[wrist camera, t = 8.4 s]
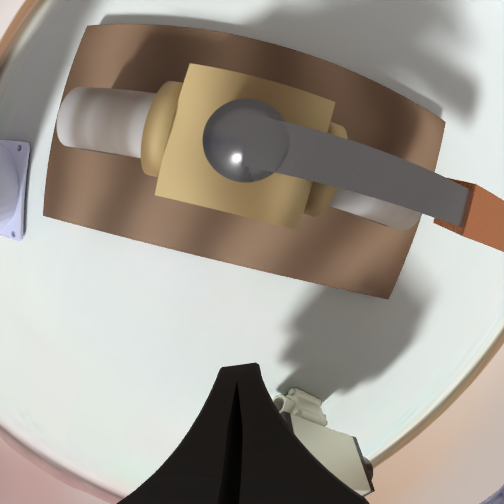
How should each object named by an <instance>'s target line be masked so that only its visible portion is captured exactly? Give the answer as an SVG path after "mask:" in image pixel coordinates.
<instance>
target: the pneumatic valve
mask: <svg viewBox="0 0 504 504" xmlns="http://www.w3.org/2000/svg"><path fill="white" fill-rule="evenodd" d="M272 401H273V402H274V404H275V406H276V408H277V409H278V411H279V413H280V414H281V416H282V417H283V419H284V420H285V422H286V423H287V425H288V426H289V427H290V429H291V430H292V431H293V433H294V434H295V435H296V436H297V438H298V439H299V440H300V441H301V442H302V444H303V445H304V446H305V447H306V448H307V449H308V450H309V452H310V453H311V454H312V455H313V456H314V457H315V458H316V459H317V460H318V461H319V462H321V463H322V464H323V465H324V466H325V467H326V468H327V469H328V470H329V471H330V472H331V473H332V474H334V475H335V476H336V477H337V478H338V479H340V480H341V481H342V482H343V483H345V484H346V485H347V486H349V487H350V488H351V489H353V490H354V491H356V492H357V493H358V494H360V495H361V496H363V497H365V496H366V495H368V494H370V493H372V492H374V491H375V490H374V487H373V484H372V481H371V480H372V477H373V467H372V464H371V463H370V461H369V460H368V459H367V458H365V457H363V456H362V453H361V450H360V447H359V445H358V442H357V439H356V437H353V436H350V435H347V434H344V433H341V432H338V431H335V430H332V429H329V428H326V427H325V426H326V425H327V420H326V415H325V414H323V412H322V409H321V407H320V406H321V405H322V403H321V400H320V399H318V398H316V397H314V396H312V395H310V394H308V393H306V392H304V391H302V390H299V389H297V388H293V389H292V388H291V389H290V390H289V392H288V395H286V396H284V395H282V394H281V395H278V396H276V397H275V398H274V399H273V400H272Z"/></svg>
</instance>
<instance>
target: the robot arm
mask: <svg viewBox="0 0 504 504" xmlns="http://www.w3.org/2000/svg"><path fill="white" fill-rule="evenodd" d="M20 147H21V150H20ZM29 152H30V144H29V143H28V142H22V141H11V140H0V235H2V236H5V237H7V238H10V239H13V240H16V241H20V240H22V239H23V221H24V198H25V185H26V175H27V167H28V159H29ZM14 232H15V234H14ZM117 504H369V502H368V501H367V500H366V499H365V498H364V497H363V496H361V495H360V494H358V493H357V492H356V491H354V490H353V489H351V488H350V487H349V486H347V485H346V484H345V483H343V482H342V481H341V480H340V479H338V478H337V477H336V476H335V475H334V474H332V473H331V472H330V471H329V470H328V469H327V468H326V467H325V466H324V465H323V464H322V463H321V462H319V461H318V460H317V459H316V458H315V457H314V456H313V455H312V454H311V453H310V452H309V450H308V449H307V448H306V447H305V446H304V445H303V444H302V442H301V441H300V440H299V439H298V438H297V436H296V435H295V434H294V433H293V431H292V430H291V429H290V427H289V426H288V425H287V423H286V422H285V420H284V419H283V417H282V416H281V414H280V413H279V411H278V409H277V408H276V406H275V404H274V402H273V401H272V399H271V397H270V395H269V393H268V391H267V389H266V387H265V384H264V382H263V379H262V376H261V371H260V366H259V364H257V363H250V364H243V365H235V366H228V367H222V368H221V369H220V370H219V373H218V375H217V378H216V380H215V383H214V385H213V387H212V390H211V392H210V394H209V396H208V398H207V400H206V402H205V404H204V406H203V408H202V410H201V412H200V413H199V415H198V417H197V418H196V420H195V422H194V423H193V425H192V427H191V428H190V430H189V431H188V433H187V434H186V436H185V437H184V439H183V440H182V442H181V443H180V444H179V446H178V447H177V448H176V449H175V451H174V452H173V453H172V454H171V455H170V457H169V458H168V459H167V460H166V461H165V462H164V463H163V465H162V466H161V467H160V468H159V469H158V470H157V471H156V472H155V473H154V474H153V475H152V476H151V477H150V478H148V479H147V480H146V481H145V482H144V483H143V484H142V485H141V486H139V487H138V488H137V489H136V490H135V491H133V492H132V493H131V494H130V495H128V496H127V497H125V498H124V499H122V500H121V501H120V502H118V503H117ZM480 504H504V485H503V486H502V487H501V489H499V490H498V491H497V492H496V493H494V494H493V495H491V496H490V497H488V498H487V499H486V500H484V501H483V502H481V503H480Z"/></svg>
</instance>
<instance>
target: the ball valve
mask: <svg viewBox="0 0 504 504" xmlns="http://www.w3.org/2000/svg"><path fill="white" fill-rule="evenodd" d="M243 98H249V99H256V100H260V101H263V102H265V103H267V104H269V105H271V106H272V107H273V108H275V109H276V110H277V111H278V112H279V113H280V114H281V116H282V117H283V118H284V120H285V122H288V123H292V124H296V125H300V126H304V127H308V128H311V129H315V130H319V131H322V132H326V133H329V134H332V135H336V136H339V137H342V138H345V139H349V140H352V141H355V142H358V143H361V144H364V145H367V146H370V147H372V148H375V149H378V150H381V151H383V152H386V153H389V154H391V155H394V156H397V157H399V158H402V159H404V160H407V161H409V162H411V163H414V164H416V165H419V166H421V167H423V168H426V169H428V170H430V171H432V172H434V171H435V168H436V164H437V160H438V155H439V151H440V147H441V142H442V137H443V133H444V128H445V121H443V120H442V119H440V118H439V117H437V116H436V115H434V114H433V113H431V112H429V111H428V110H426V109H424V108H423V107H421V106H419V105H418V104H416V103H414V102H413V101H411V100H409V99H407V98H406V97H404V96H402V95H400V94H398V93H396V92H394V91H392V90H391V89H389V88H387V87H385V86H383V85H381V84H379V83H377V82H374V81H372V80H370V79H368V78H366V77H364V76H362V75H359V74H357V73H355V72H352V71H350V70H348V69H345V68H343V67H340V66H338V65H335V64H333V63H330V62H328V61H325V60H322V59H319V58H317V57H314V56H311V55H308V54H305V53H302V52H299V51H296V50H292V49H289V48H286V47H282V46H279V45H275V44H272V43H268V42H264V41H260V40H256V39H251V38H247V37H242V36H238V35H233V34H227V33H222V32H216V31H210V30H203V29H195V28H187V27H177V26H165V25H147V24H108V25H90V26H87V28H86V30H85V33H84V35H83V37H82V40H81V42H80V45H79V47H78V50H77V53H76V55H75V58H74V61H73V64H72V67H71V70H70V73H69V76H68V79H67V82H66V85H65V89H64V92H63V96H62V100H61V103H60V107H59V111H58V115H57V120H56V124H55V129H54V133H53V139H52V144H51V150H50V156H49V162H48V169H47V177H46V186H45V196H44V209H43V216H46V217H50V218H54V219H57V220H61V221H65V222H69V223H72V224H76V225H80V226H84V227H87V228H91V229H95V230H99V231H103V232H106V233H110V234H114V235H118V236H122V237H126V238H130V239H133V240H137V241H141V242H145V243H149V244H153V245H157V246H161V247H165V248H169V249H173V250H177V251H181V252H185V253H189V254H193V255H197V256H202V257H206V258H210V259H214V260H218V261H222V262H226V263H230V264H235V265H239V266H243V267H247V268H251V269H256V270H260V271H264V272H268V273H273V274H277V275H281V276H286V277H290V278H294V279H299V280H303V281H308V282H312V283H316V284H321V285H325V286H330V287H334V288H339V289H343V290H348V291H352V292H357V293H361V294H366V295H370V296H375V297H380V298H384V299H389V297H390V295H391V293H392V290H393V288H394V286H395V284H396V281H397V279H398V277H399V274H400V272H401V269H402V267H403V264H404V262H405V259H406V257H407V254H408V252H409V249H410V247H411V244H412V241H413V238H414V236H415V233H416V230H417V227H418V224H419V221H420V218H421V215H422V213H420V212H417V211H414V210H411V209H408V208H405V207H402V206H399V205H396V204H393V203H389V202H386V201H383V200H380V199H376V198H373V197H370V196H366V195H363V194H359V193H356V192H352V191H348V190H345V189H341V188H337V187H334V186H330V185H326V184H322V183H318V182H314V181H310V180H306V179H301V178H297V177H293V176H289V175H284V174H280V173H273V174H272V175H270V176H269V177H267V178H265V179H262V180H260V181H256V182H245V183H243V182H237V181H233V180H230V179H227V178H225V177H224V176H222V175H220V174H219V173H218V172H217V171H216V170H215V169H213V167H212V166H211V165H210V163H209V162H208V160H207V158H206V156H205V153H204V150H203V132H204V128H205V125H206V123H207V121H208V119H209V118H210V116H211V115H212V114H213V113H214V112H215V111H216V110H217V109H218V108H219V107H221V106H222V105H224V104H226V103H228V102H230V101H233V100H237V99H243Z"/></svg>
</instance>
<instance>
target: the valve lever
mask: <svg viewBox="0 0 504 504" xmlns="http://www.w3.org/2000/svg"><path fill="white" fill-rule="evenodd" d="M203 150H204V153H205V156H206V158H207V160H208V162H209V163H210V165H211V166H212V167H213V169H215V170H216V171H217V172H218V173H219V174H220V175H222V176H224V177H225V178H227V179H230V180H233V181H237V182H243V183H245V182H256V181H260V180H262V179H265V178H267V177H269V176H270V175H272V174H273V173H280V174H284V175H289V176H293V177H297V178H301V179H306V180H310V181H314V182H318V183H322V184H326V185H330V186H334V187H337V188H341V189H345V190H348V191H352V192H356V193H359V194H363V195H366V196H370V197H373V198H376V199H380V200H383V201H386V202H389V203H393V204H396V205H399V206H402V207H405V208H408V209H411V210H414V211H417V212H420V213H423V214H426V215H429V216H432V217H434V218H435V219H434V222H433V223H435V224H438V225H440V226H442V227H444V228H447V229H449V230H451V231H453V232H455V233H457V234H460V235H462V236H464V237H467V238H469V239H472V240H475V241H477V242H480V243H483V244H485V245H488V246H490V247H493V248H495V249H498V250H500V251H503V252H504V201H503V200H502V199H500V198H499V197H497V196H495V195H494V194H492V193H490V192H489V191H487V190H485V189H483V188H482V187H480V186H478V185H476V184H473V183H468V182H464V181H459V180H455V179H450V178H445V177H443V176H441V175H439V174H437V173H435V172H432V171H430V170H428V169H426V168H423V167H421V166H419V165H416V164H414V163H411V162H409V161H407V160H404V159H402V158H399V157H397V156H394V155H391V154H389V153H386V152H383V151H381V150H378V149H375V148H372V147H370V146H367V145H364V144H361V143H358V142H355V141H352V140H349V139H345V138H342V137H339V136H336V135H332V134H329V133H326V132H322V131H319V130H315V129H311V128H308V127H304V126H300V125H296V124H292V123H288V122H285V120H284V118H283V117H282V116H281V114H280V113H279V112H278V111H277V110H276V109H275V108H273V107H272V106H271V105H269V104H267V103H265V102H263V101H260V100H256V99H249V98H243V99H237V100H233V101H230V102H228V103H226V104H224V105H222V106H221V107H219V108H218V109H217V110H216V111H215V112H214V113H213V114H212V115H211V116H210V118H209V119H208V121H207V123H206V125H205V128H204V132H203Z"/></svg>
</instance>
